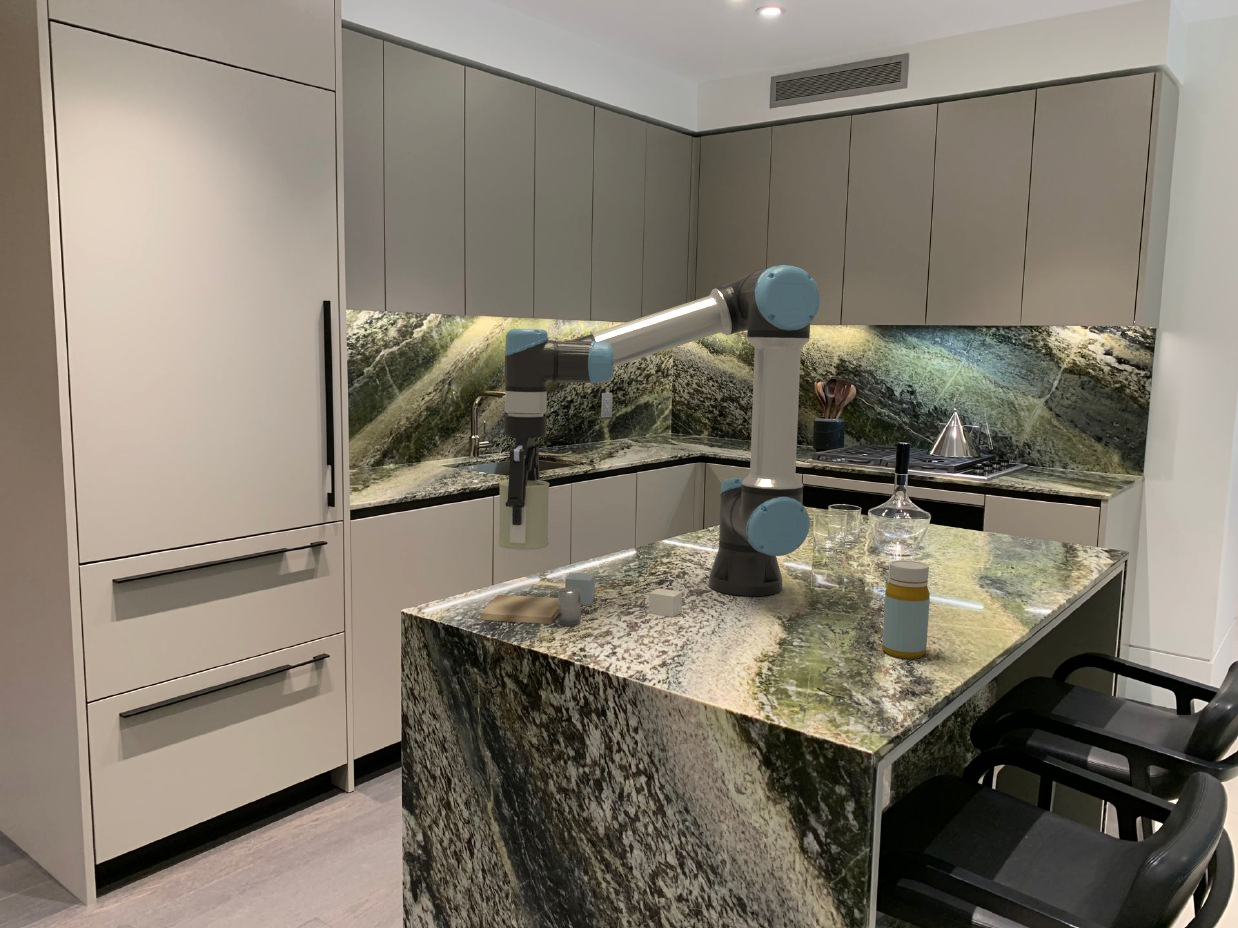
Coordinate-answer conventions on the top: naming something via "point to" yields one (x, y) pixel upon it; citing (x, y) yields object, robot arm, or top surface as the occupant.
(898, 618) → the bottle
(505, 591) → the top surface
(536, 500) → the can
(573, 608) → the tin
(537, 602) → the board
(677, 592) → the block white
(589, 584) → the block gray
